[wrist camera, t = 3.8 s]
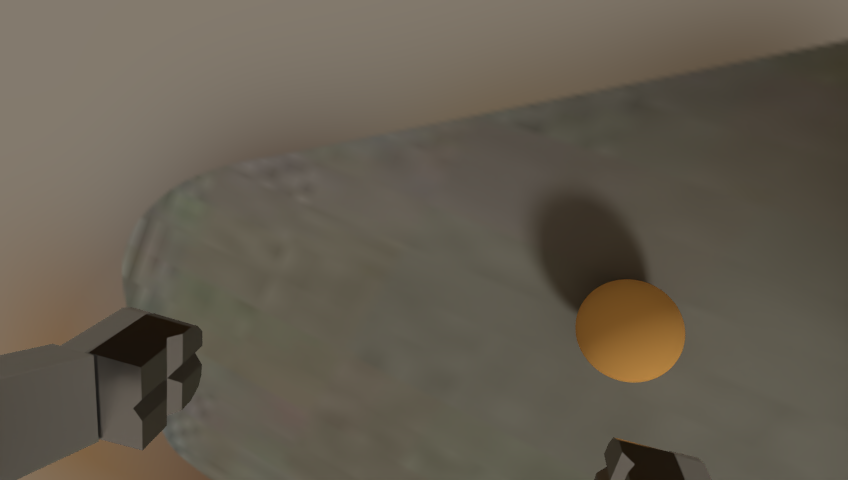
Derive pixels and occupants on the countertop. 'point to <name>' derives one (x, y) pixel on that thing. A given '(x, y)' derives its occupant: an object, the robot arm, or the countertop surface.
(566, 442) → the countertop surface
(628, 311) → the ball
